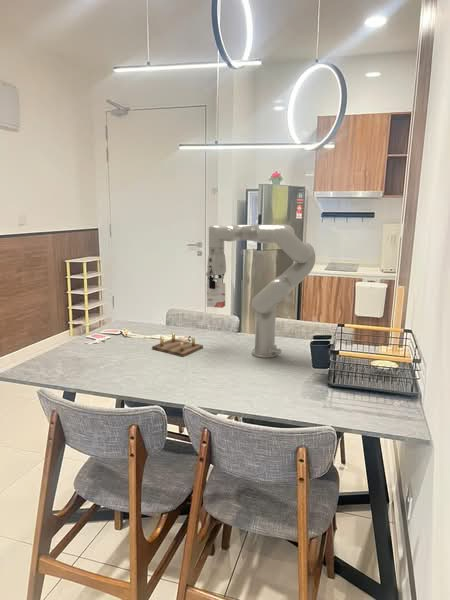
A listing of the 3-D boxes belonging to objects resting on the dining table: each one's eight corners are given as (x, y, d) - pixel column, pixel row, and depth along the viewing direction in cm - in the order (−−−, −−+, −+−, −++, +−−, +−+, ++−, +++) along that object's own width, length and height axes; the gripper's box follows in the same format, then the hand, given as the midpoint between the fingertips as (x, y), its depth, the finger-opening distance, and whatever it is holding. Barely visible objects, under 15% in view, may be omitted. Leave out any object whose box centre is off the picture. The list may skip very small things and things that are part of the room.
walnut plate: (203, 348, 216) (203, 345, 216) (183, 356, 203) (183, 353, 203) (172, 341, 227) (172, 338, 227) (152, 349, 214) (152, 346, 214)
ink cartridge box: (225, 305, 213) (226, 276, 210) (222, 308, 208) (222, 278, 205) (209, 304, 216) (209, 275, 212) (206, 306, 211) (206, 277, 208)
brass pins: (195, 345, 215) (195, 338, 215) (182, 351, 207) (182, 343, 206) (173, 340, 223) (173, 333, 222) (159, 346, 215) (159, 338, 214)
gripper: (212, 253, 197) (212, 291, 201) (232, 250, 211) (231, 286, 215) (199, 252, 201) (199, 289, 205) (219, 249, 215) (219, 284, 219)
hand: (216, 287), depth 210 cm, fingers closed on ink cartridge box, 5 cm apart
